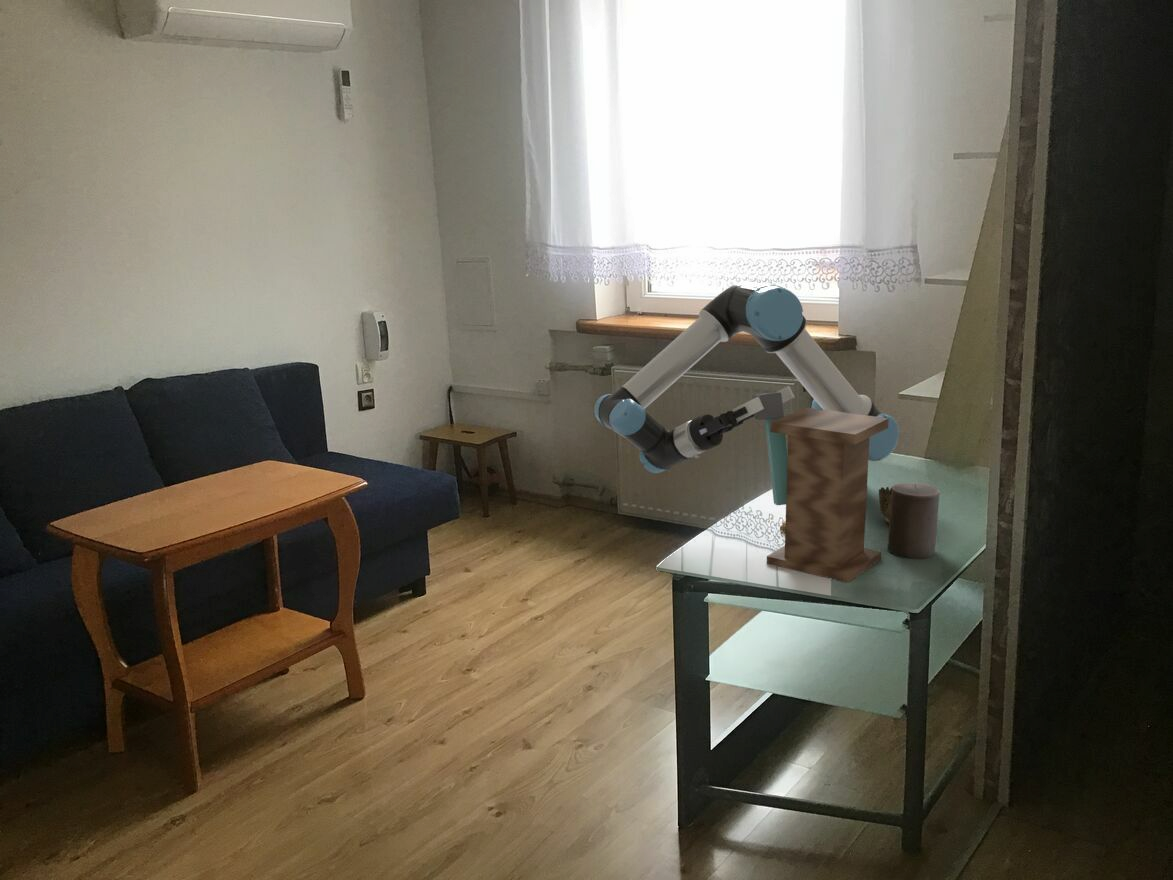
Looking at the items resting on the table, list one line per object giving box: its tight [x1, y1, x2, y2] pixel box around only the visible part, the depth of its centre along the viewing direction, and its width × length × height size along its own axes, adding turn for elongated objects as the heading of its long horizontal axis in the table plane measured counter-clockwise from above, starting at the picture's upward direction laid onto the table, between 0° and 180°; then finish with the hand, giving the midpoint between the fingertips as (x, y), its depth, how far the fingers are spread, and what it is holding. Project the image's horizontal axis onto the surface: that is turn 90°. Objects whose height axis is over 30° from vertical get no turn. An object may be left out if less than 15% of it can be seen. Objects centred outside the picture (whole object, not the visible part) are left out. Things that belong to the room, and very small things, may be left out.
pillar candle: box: [887, 482, 941, 559], centre depth 221 cm, size 10×10×15 cm
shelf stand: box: [766, 407, 889, 583], centre depth 214 cm, size 18×16×30 cm
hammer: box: [751, 391, 788, 506], centre depth 216 cm, size 23×5×5 cm
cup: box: [878, 486, 893, 526], centre depth 238 cm, size 8×7×8 cm
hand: (776, 397), depth 217 cm, fingers open, 12 cm apart
